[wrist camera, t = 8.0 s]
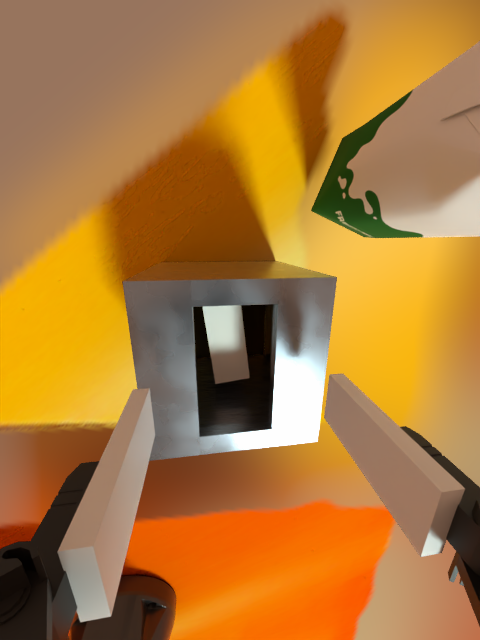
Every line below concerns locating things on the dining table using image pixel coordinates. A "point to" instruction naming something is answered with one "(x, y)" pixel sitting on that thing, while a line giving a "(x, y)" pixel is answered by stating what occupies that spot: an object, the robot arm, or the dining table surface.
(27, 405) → the dining table surface
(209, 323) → the white rectangular block
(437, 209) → the milk carton
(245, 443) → the grey open box
